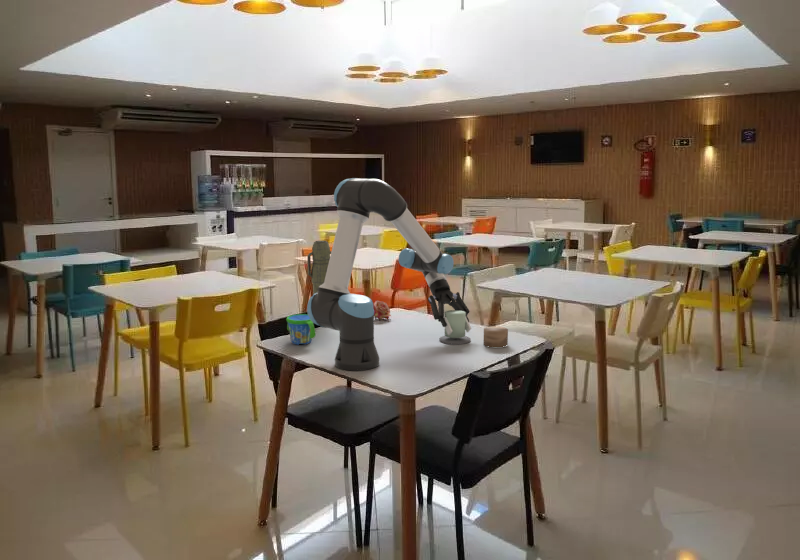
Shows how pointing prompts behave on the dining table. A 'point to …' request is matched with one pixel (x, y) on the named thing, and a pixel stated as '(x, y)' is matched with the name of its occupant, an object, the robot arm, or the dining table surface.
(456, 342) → the mat
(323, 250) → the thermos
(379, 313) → the flower
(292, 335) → the snack cup
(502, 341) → the brown wooden block
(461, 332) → the cap
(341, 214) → the robot arm
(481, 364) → the dining table surface
